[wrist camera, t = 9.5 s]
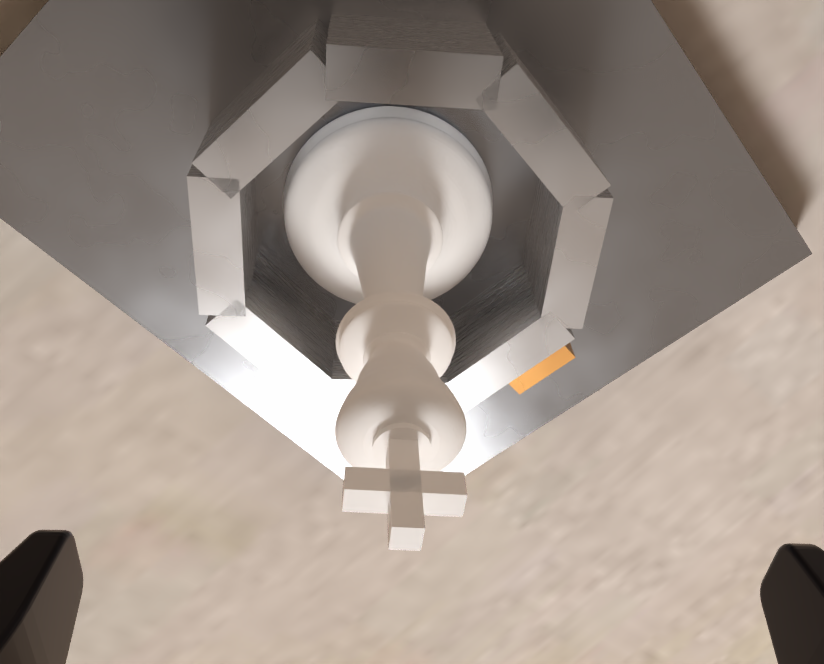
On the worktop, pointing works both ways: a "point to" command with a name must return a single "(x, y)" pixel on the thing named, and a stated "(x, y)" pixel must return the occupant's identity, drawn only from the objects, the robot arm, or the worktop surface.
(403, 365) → the chess piece
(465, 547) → the worktop surface
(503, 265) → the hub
